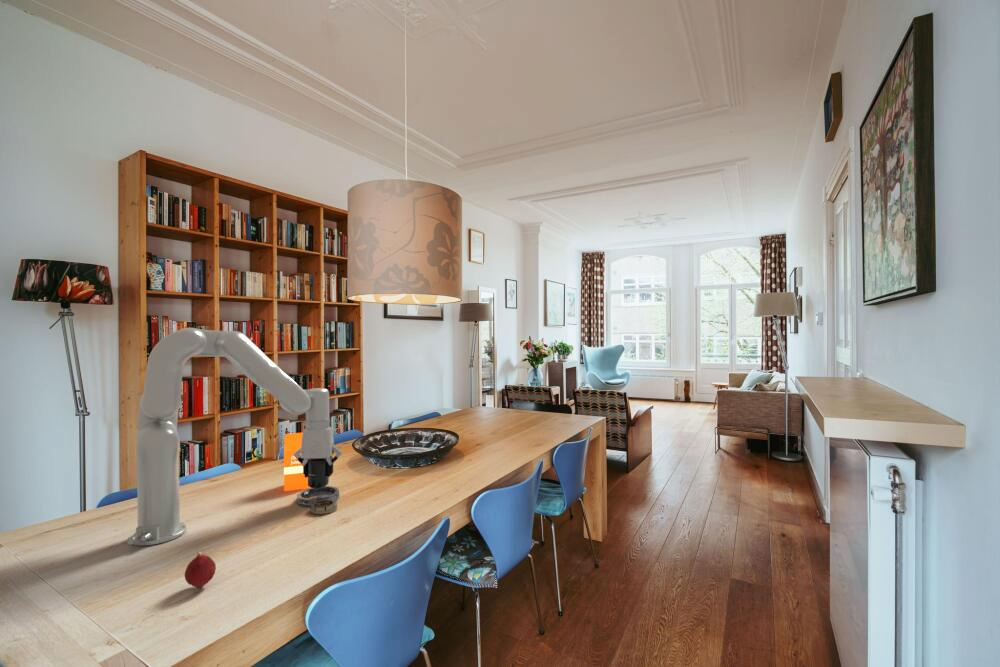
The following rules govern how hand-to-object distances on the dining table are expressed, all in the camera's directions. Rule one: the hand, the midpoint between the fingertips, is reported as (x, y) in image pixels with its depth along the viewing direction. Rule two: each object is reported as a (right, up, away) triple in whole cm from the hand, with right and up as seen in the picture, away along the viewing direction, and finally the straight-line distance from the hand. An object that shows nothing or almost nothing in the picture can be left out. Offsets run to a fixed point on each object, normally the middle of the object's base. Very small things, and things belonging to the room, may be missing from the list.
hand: (318, 475), depth 155 cm
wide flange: (0, -8, 0) cm, 8 cm away
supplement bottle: (0, -3, 0) cm, 3 cm away
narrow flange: (+6, -8, -10) cm, 14 cm away
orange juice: (-13, -8, +13) cm, 20 cm away
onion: (-5, -9, -54) cm, 54 cm away
